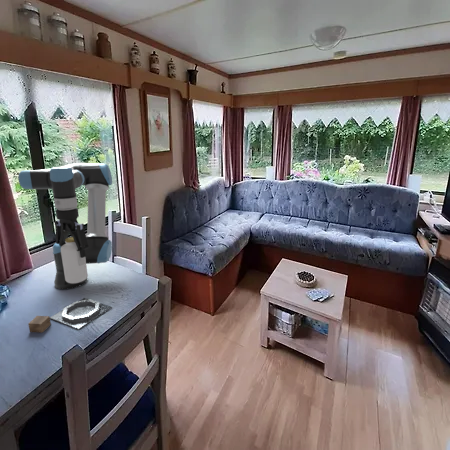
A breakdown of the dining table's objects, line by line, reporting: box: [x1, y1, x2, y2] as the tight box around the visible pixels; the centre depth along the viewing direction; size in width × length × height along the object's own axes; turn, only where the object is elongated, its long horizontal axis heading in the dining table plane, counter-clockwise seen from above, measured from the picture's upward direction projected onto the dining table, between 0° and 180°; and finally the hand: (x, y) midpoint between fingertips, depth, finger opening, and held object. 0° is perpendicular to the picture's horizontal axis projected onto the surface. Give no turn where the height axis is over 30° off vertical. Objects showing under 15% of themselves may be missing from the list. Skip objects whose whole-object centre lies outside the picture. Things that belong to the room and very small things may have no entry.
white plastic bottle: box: [61, 236, 89, 283], centre depth 111 cm, size 8×8×18 cm
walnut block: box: [27, 315, 52, 333], centre depth 108 cm, size 5×5×4 cm
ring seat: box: [49, 297, 113, 331], centre depth 118 cm, size 17×17×2 cm
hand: (74, 262), depth 112 cm, fingers closed on white plastic bottle, 8 cm apart
